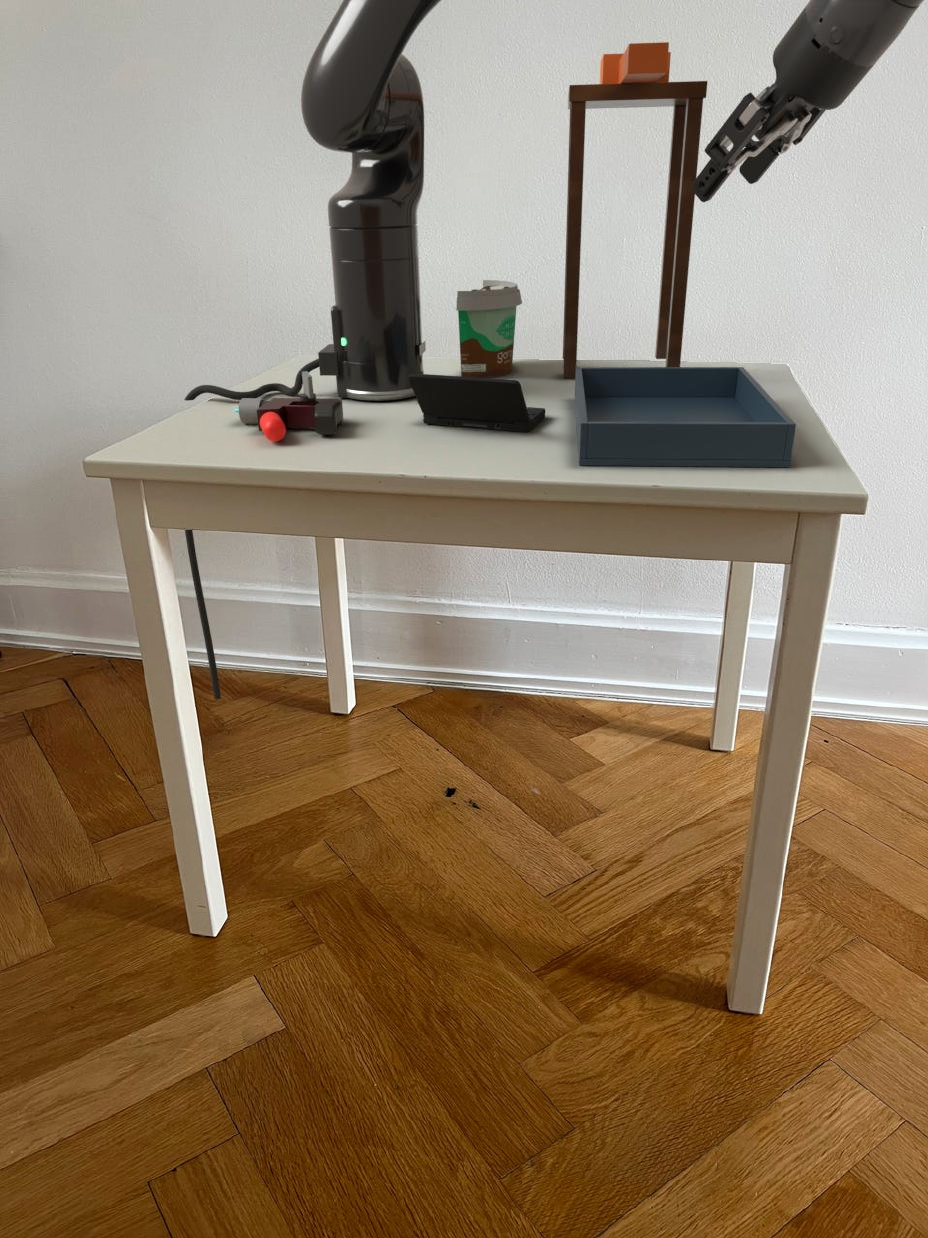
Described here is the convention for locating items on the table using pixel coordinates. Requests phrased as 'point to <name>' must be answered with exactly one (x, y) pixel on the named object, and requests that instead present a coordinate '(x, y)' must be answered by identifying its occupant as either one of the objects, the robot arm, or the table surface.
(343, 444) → the table surface
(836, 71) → the robot arm
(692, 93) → the brown frame
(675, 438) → the tray
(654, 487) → the table surface
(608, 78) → the orange t-shaped block
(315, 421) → the toy gun
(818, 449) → the table surface
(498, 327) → the food container
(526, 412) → the handheld gaming console
